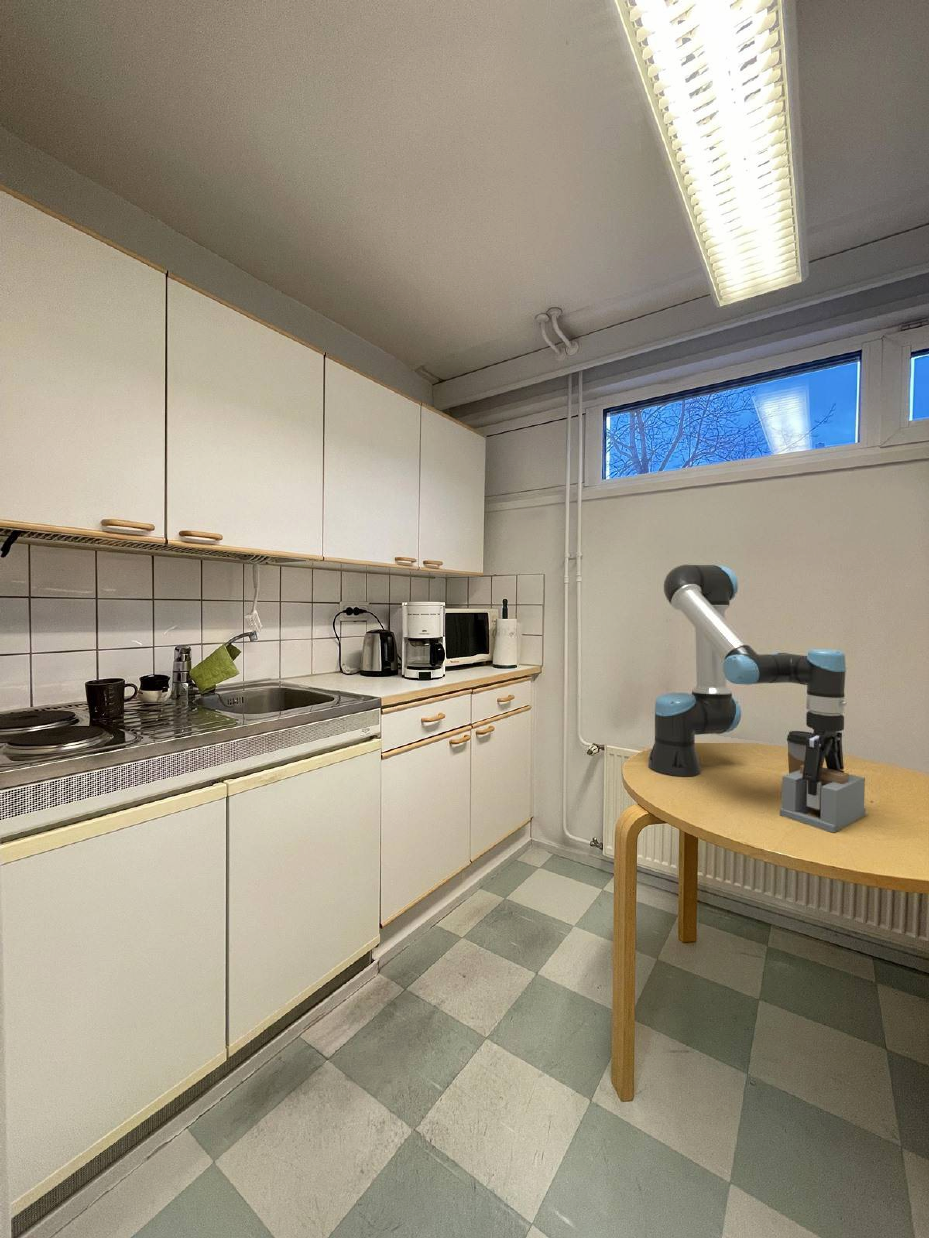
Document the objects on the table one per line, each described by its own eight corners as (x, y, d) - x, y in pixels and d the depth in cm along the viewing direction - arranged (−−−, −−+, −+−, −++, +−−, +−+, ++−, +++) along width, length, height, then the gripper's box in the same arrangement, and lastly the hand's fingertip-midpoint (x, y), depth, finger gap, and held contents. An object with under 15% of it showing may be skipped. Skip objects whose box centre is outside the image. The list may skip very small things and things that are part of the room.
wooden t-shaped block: (798, 804, 125) (799, 766, 125) (806, 801, 127) (807, 763, 127) (841, 817, 117) (842, 776, 117) (848, 813, 119) (849, 773, 119)
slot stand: (779, 815, 122) (780, 776, 122) (813, 799, 132) (814, 764, 132) (833, 833, 113) (834, 791, 112) (865, 815, 122) (866, 777, 122)
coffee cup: (826, 792, 137) (828, 738, 137) (793, 790, 139) (794, 736, 138) (812, 782, 145) (813, 731, 145) (780, 779, 147) (781, 729, 147)
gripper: (822, 720, 112) (820, 818, 113) (861, 710, 124) (859, 798, 125) (786, 714, 119) (784, 807, 119) (827, 705, 131) (825, 789, 131)
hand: (822, 803), depth 122 cm, fingers open, 9 cm apart
